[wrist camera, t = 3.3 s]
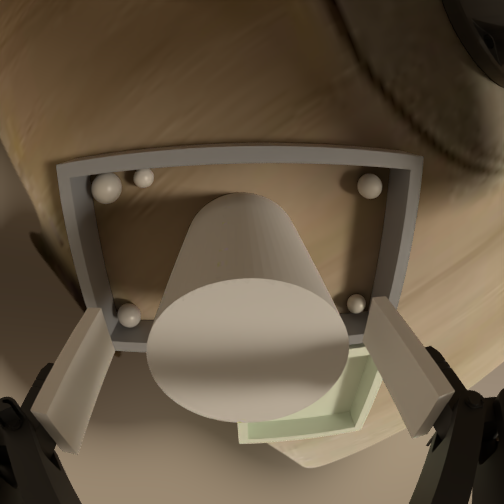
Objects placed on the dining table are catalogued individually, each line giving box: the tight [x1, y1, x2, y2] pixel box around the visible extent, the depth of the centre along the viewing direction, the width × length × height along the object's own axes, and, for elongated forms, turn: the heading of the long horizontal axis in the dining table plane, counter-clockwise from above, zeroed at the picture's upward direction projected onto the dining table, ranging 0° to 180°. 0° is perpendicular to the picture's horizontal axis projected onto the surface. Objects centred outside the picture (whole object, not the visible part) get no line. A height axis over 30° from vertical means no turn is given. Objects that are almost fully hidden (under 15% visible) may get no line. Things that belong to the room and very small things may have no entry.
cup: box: [147, 193, 349, 423], centre depth 17 cm, size 8×8×12 cm
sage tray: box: [237, 343, 383, 444], centre depth 27 cm, size 14×14×3 cm
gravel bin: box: [56, 143, 424, 352], centre depth 21 cm, size 15×24×3 cm, turn 90°
